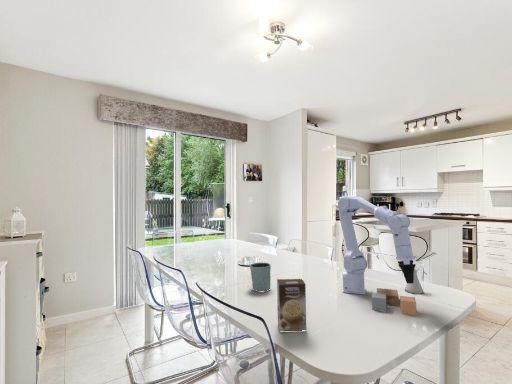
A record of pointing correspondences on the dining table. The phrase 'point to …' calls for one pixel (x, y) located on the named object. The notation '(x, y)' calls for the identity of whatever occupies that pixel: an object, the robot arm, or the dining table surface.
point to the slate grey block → (379, 302)
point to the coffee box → (291, 304)
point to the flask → (414, 285)
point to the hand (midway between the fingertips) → (409, 281)
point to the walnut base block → (390, 296)
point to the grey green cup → (260, 276)
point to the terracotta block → (408, 305)
